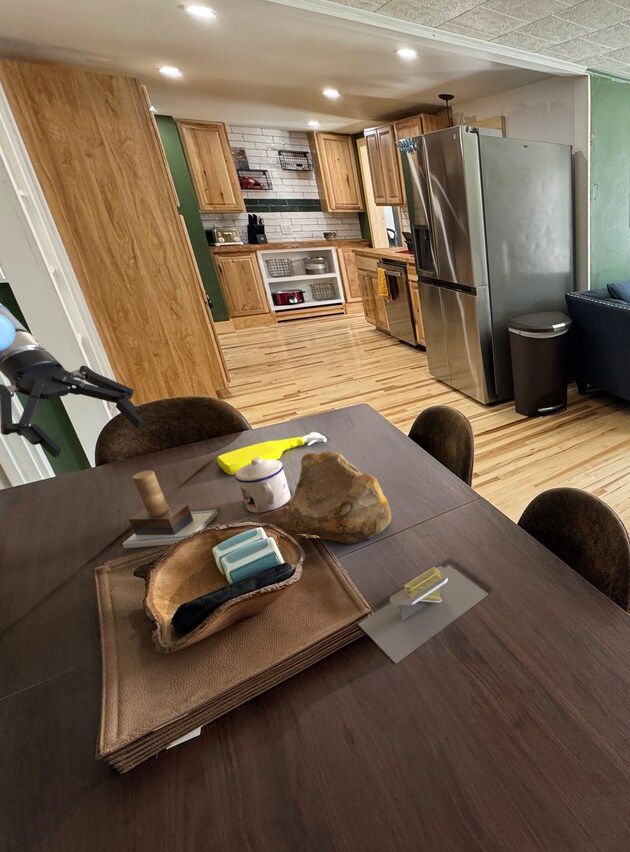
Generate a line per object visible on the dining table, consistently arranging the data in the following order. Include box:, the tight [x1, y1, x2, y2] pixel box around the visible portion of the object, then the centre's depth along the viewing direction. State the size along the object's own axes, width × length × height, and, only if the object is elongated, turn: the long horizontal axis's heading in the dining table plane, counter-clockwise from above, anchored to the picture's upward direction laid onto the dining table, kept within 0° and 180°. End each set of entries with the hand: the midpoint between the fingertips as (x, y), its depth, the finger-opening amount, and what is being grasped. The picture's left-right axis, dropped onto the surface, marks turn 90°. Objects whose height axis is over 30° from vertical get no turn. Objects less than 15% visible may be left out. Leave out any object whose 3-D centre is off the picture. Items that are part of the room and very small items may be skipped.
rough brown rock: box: [283, 450, 392, 545], centre depth 99 cm, size 23×17×15 cm
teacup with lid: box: [234, 457, 291, 514], centre depth 108 cm, size 12×9×12 cm
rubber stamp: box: [128, 470, 193, 535], centre depth 97 cm, size 8×5×13 cm, turn 91°
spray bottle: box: [216, 431, 328, 476], centre depth 131 cm, size 3×11×24 cm
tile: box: [121, 509, 219, 549], centre depth 101 cm, size 12×10×1 cm
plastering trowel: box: [357, 565, 489, 665], centre depth 81 cm, size 12×18×7 cm, turn 142°
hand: (101, 438), depth 96 cm, fingers open, 13 cm apart
